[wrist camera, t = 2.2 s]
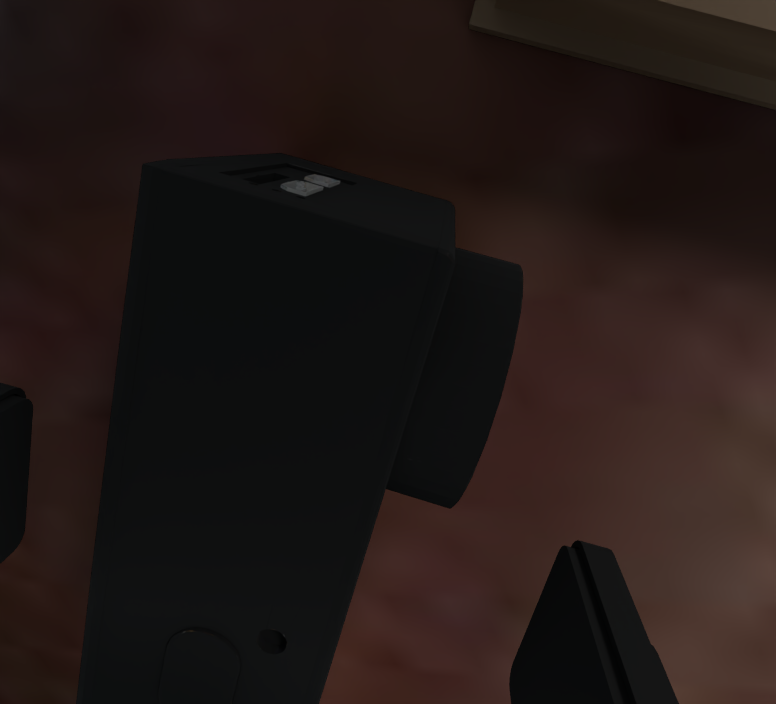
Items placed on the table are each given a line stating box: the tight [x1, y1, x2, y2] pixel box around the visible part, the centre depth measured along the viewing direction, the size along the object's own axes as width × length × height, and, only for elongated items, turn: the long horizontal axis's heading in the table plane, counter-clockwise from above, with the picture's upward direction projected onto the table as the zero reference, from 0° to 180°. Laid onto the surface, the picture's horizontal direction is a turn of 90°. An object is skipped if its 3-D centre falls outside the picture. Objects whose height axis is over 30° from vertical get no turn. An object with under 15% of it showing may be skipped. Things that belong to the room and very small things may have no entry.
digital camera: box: [76, 153, 523, 704], centre depth 13 cm, size 10×5×7 cm, turn 165°
